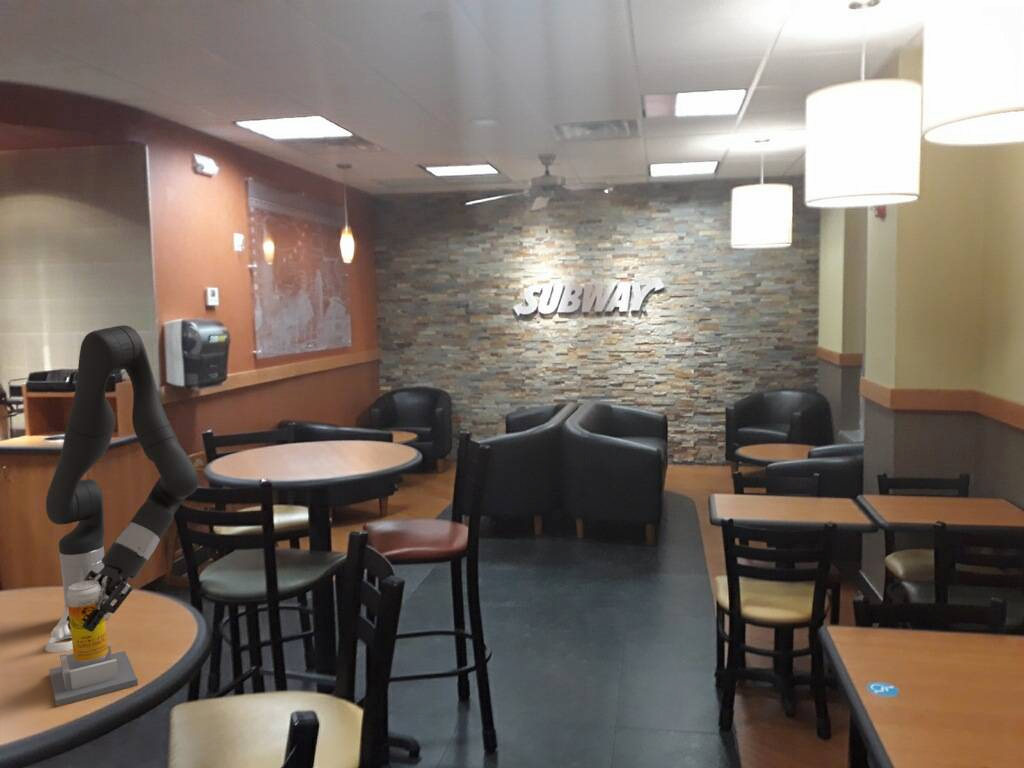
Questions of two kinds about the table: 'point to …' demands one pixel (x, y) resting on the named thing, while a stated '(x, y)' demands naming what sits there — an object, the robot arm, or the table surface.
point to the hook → (60, 636)
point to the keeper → (91, 677)
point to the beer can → (80, 607)
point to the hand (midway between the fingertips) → (79, 625)
